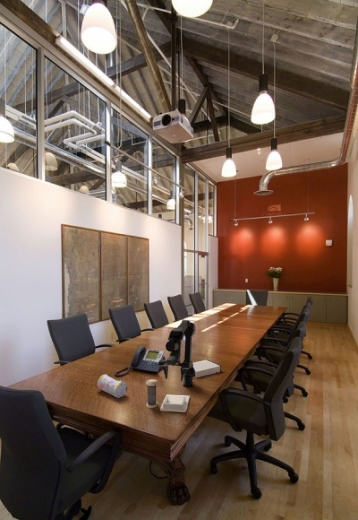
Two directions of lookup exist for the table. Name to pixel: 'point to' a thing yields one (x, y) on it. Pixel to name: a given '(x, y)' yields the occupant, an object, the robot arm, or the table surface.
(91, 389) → the table surface
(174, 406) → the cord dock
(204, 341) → the table surface
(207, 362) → the disc drive
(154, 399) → the disc
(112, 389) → the pencil case
